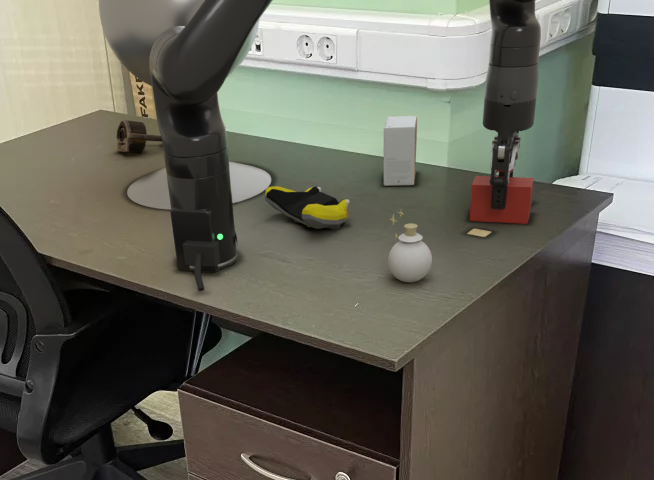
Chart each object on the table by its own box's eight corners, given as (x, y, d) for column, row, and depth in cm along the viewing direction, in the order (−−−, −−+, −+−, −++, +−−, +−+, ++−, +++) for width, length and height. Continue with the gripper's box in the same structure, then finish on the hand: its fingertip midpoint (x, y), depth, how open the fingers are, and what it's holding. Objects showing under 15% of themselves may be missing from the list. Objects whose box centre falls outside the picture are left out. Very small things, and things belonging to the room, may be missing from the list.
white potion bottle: (408, 293, 118) (409, 223, 113) (372, 276, 123) (372, 209, 118) (440, 280, 121) (443, 212, 115) (404, 265, 126) (405, 198, 121)
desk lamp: (223, 154, 181) (200, -92, 157) (300, 184, 161) (287, -93, 137) (103, 185, 169) (59, -77, 145) (170, 221, 149) (132, -76, 125)
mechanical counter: (112, 122, 189) (108, 123, 180) (169, 110, 189) (168, 110, 180) (120, 155, 191) (116, 158, 182) (176, 144, 192) (175, 146, 182)
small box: (414, 186, 155) (415, 126, 149) (382, 186, 156) (383, 127, 151) (416, 172, 162) (417, 115, 156) (386, 172, 163) (386, 115, 157)
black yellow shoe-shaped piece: (310, 243, 136) (361, 227, 140) (308, 209, 133) (361, 194, 137) (261, 217, 147) (309, 204, 151) (258, 186, 144) (308, 173, 148)
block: (527, 224, 136) (531, 187, 133) (469, 221, 139) (471, 184, 136) (530, 214, 139) (533, 177, 136) (473, 211, 142) (475, 175, 139)
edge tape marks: (484, 237, 133) (484, 236, 133) (466, 233, 134) (466, 233, 134) (532, 202, 144) (532, 202, 144) (515, 200, 145) (515, 199, 145)
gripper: (490, 83, 136) (483, 184, 144) (478, 105, 124) (470, 213, 133) (540, 84, 133) (529, 186, 142) (532, 106, 122) (521, 216, 131)
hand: (501, 199), depth 137 cm, fingers open, 8 cm apart
